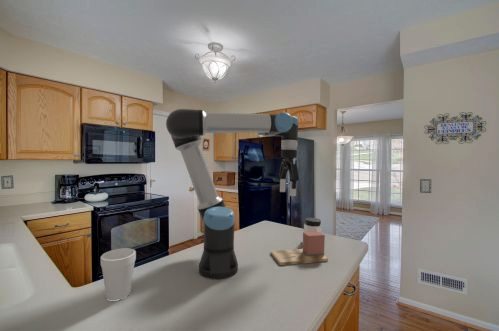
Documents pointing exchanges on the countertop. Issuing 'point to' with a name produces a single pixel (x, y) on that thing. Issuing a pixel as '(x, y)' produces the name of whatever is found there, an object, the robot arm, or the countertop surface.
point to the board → (295, 257)
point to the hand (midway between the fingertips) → (287, 193)
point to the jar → (312, 225)
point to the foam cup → (118, 272)
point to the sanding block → (313, 243)
